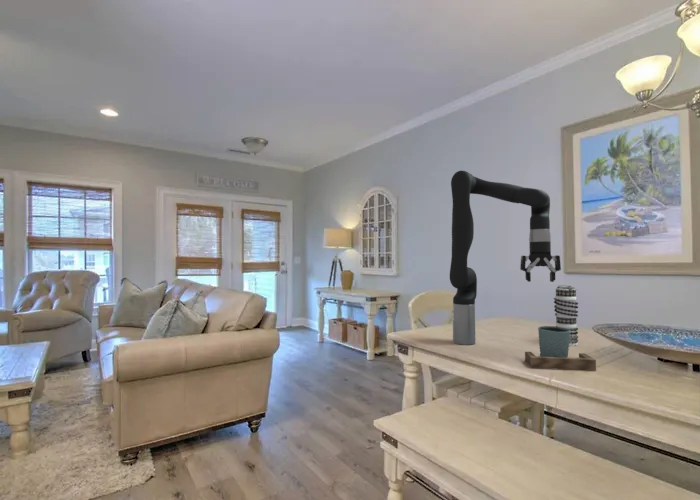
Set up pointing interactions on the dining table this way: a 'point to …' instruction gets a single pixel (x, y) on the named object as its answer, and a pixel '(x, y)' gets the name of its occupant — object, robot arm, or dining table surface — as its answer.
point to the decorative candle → (567, 311)
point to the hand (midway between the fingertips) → (540, 281)
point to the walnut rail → (561, 362)
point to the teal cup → (553, 341)
